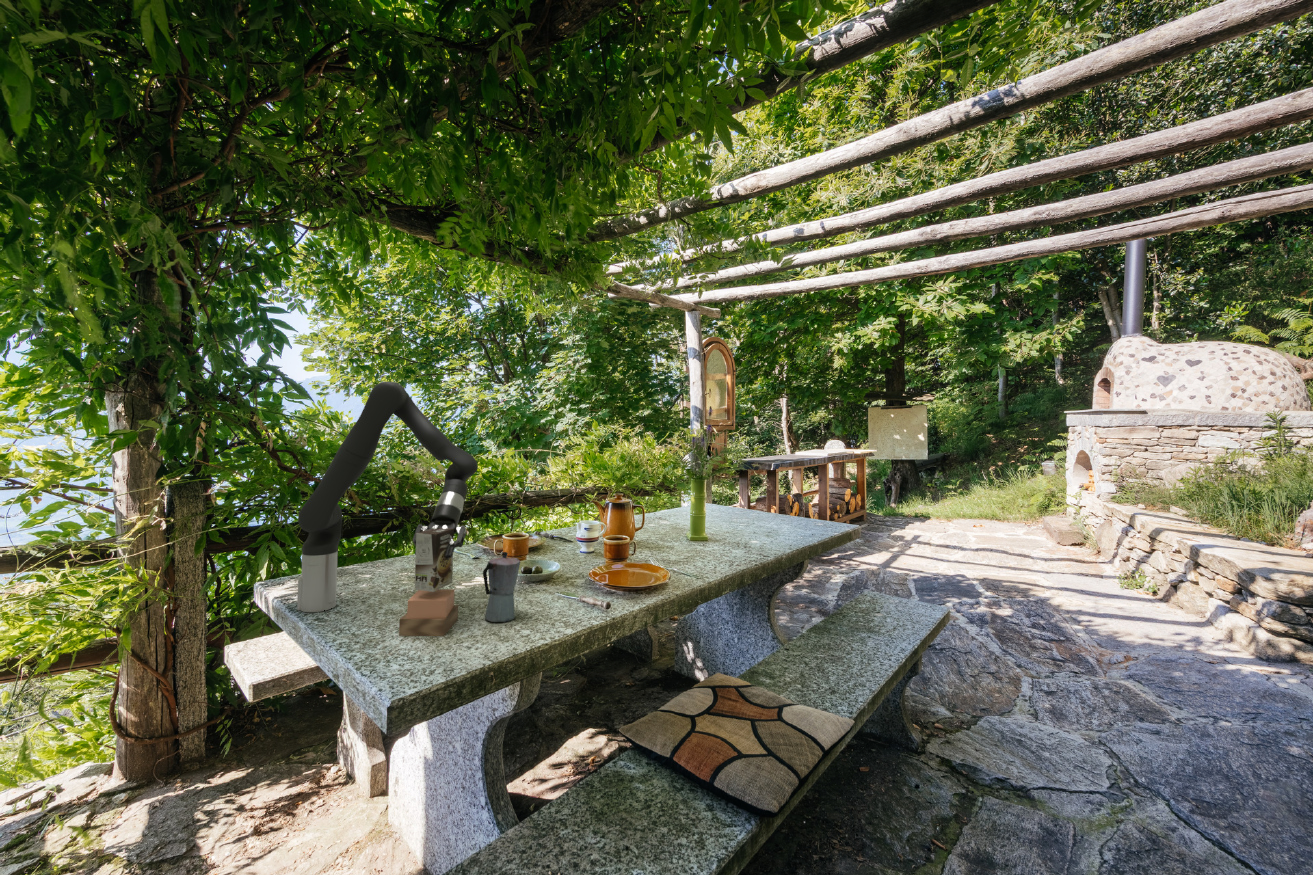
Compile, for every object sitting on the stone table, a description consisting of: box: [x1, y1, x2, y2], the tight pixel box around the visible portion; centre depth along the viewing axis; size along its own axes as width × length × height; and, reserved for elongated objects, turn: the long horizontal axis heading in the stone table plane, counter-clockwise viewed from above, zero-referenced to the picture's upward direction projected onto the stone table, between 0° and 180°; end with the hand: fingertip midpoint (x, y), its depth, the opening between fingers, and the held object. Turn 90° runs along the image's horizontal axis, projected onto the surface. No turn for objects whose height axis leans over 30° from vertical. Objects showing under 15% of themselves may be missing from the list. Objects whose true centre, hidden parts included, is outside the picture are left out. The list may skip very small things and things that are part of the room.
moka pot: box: [482, 551, 521, 623], centre depth 157 cm, size 10×15×20 cm, turn 161°
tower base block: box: [398, 604, 459, 637], centre depth 148 cm, size 12×12×5 cm
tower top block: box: [406, 588, 456, 619], centre depth 148 cm, size 10×10×5 cm
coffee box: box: [414, 528, 455, 592], centre depth 148 cm, size 9×6×16 cm
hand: (432, 557), depth 147 cm, fingers closed on coffee box, 7 cm apart
